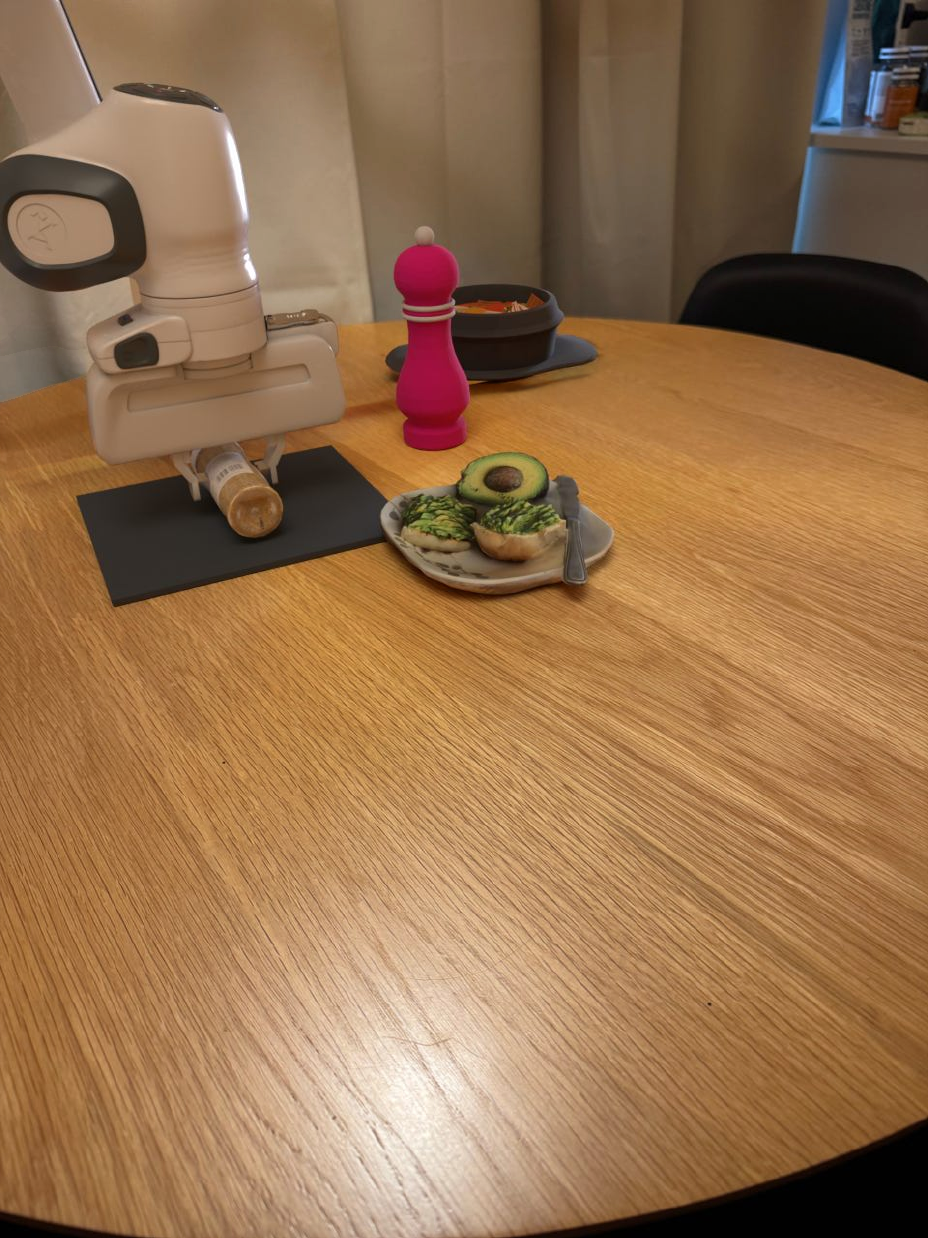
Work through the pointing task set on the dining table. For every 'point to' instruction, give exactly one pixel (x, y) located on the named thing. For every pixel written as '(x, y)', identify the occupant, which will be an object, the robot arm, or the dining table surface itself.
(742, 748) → the dining table surface
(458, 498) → the avocado toast plate
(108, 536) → the slate mat
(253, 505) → the spice jar
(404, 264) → the pepper mill
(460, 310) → the casserole
